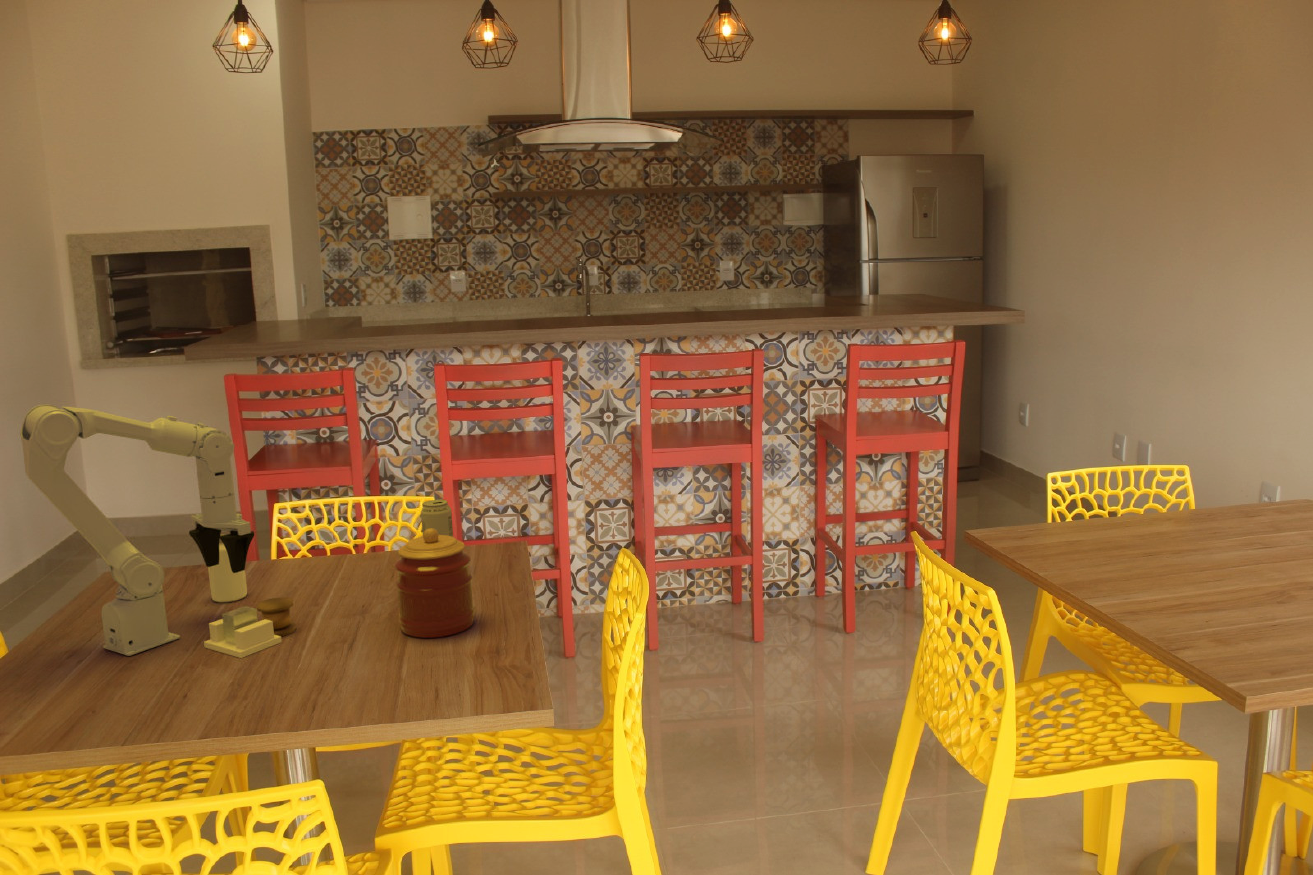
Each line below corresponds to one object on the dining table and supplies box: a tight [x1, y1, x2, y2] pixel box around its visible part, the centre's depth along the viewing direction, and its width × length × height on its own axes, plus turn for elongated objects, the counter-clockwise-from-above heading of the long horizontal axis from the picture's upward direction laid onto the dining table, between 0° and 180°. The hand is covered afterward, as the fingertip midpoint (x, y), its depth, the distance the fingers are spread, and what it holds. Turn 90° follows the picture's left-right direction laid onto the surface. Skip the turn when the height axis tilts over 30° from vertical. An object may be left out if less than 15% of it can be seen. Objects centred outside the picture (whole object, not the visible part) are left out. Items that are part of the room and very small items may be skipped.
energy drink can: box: [420, 499, 454, 537], centre depth 213 cm, size 6×6×15 cm
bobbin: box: [256, 597, 297, 638], centre depth 185 cm, size 6×6×5 cm
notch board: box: [203, 618, 282, 659], centre depth 179 cm, size 8×10×4 cm
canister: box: [394, 528, 476, 639], centre depth 183 cm, size 13×13×18 cm
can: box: [207, 533, 248, 604], centre depth 204 cm, size 6×6×12 cm
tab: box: [221, 605, 259, 645], centre depth 179 cm, size 3×4×5 cm, turn 146°
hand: (225, 568), depth 190 cm, fingers open, 7 cm apart
